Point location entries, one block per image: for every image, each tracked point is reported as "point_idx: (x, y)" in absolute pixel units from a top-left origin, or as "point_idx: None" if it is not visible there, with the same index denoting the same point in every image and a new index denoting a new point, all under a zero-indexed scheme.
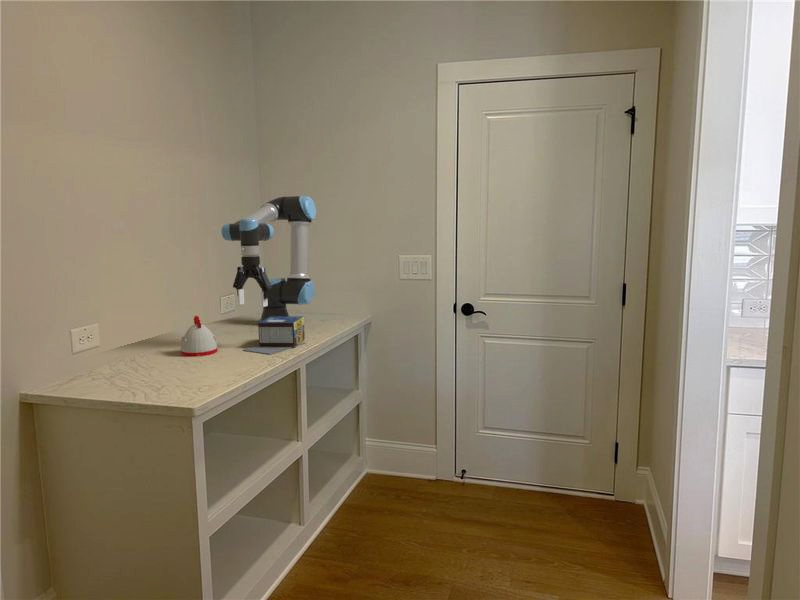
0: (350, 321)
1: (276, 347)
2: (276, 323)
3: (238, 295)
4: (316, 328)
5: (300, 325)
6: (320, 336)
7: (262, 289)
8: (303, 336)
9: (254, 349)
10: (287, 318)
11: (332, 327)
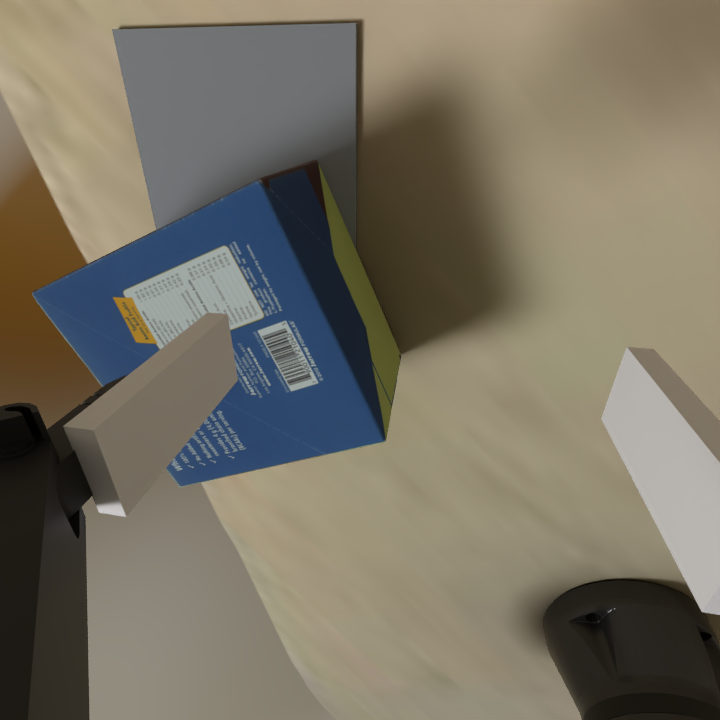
0: (330, 673)
1: (216, 194)
2: (130, 243)
3: (718, 432)
4: (366, 579)
5: None
6: (241, 474)
7: (38, 460)
8: None
9: (289, 77)
10: None
11: (319, 599)
